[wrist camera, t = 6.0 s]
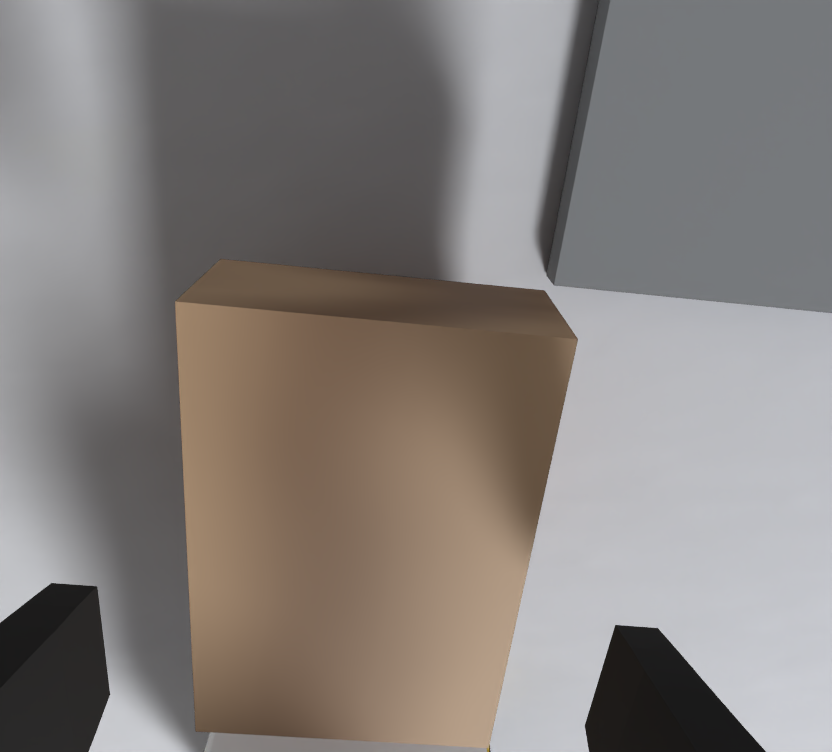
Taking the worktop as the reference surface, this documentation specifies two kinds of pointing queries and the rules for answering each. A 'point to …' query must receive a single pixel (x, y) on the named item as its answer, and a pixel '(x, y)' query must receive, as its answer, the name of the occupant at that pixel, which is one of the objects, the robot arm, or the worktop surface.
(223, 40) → the worktop surface
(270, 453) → the tan cardboard box
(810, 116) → the mat
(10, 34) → the worktop surface
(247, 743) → the medicine bottle
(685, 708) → the robot arm
